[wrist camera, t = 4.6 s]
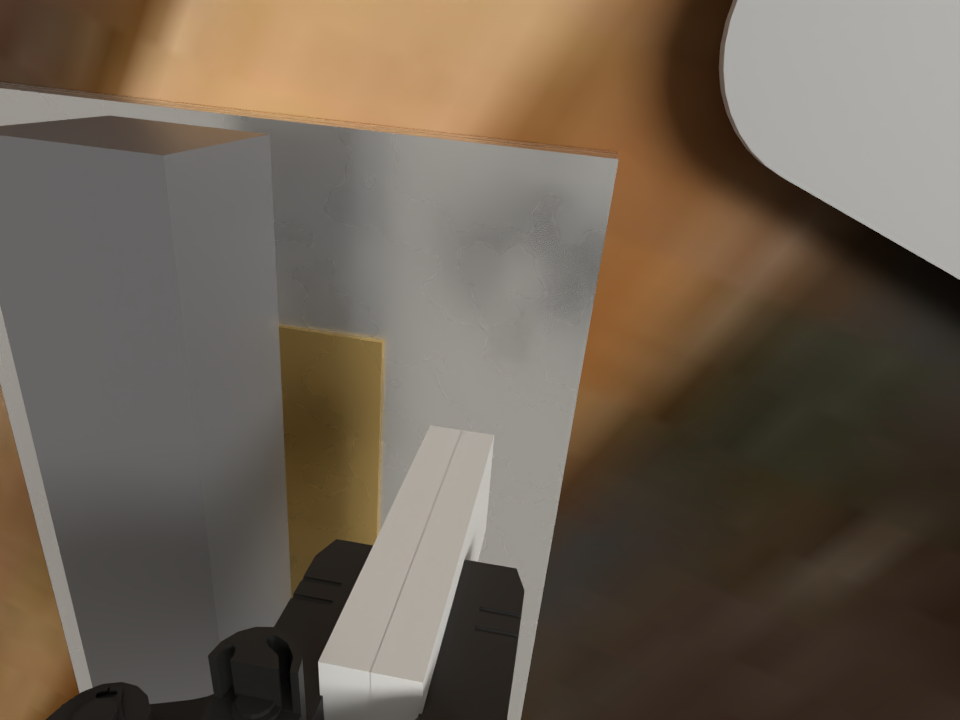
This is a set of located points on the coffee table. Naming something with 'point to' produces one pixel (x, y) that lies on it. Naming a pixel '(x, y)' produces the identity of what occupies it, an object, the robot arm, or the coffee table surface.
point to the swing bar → (151, 382)
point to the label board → (398, 322)
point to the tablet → (855, 109)
